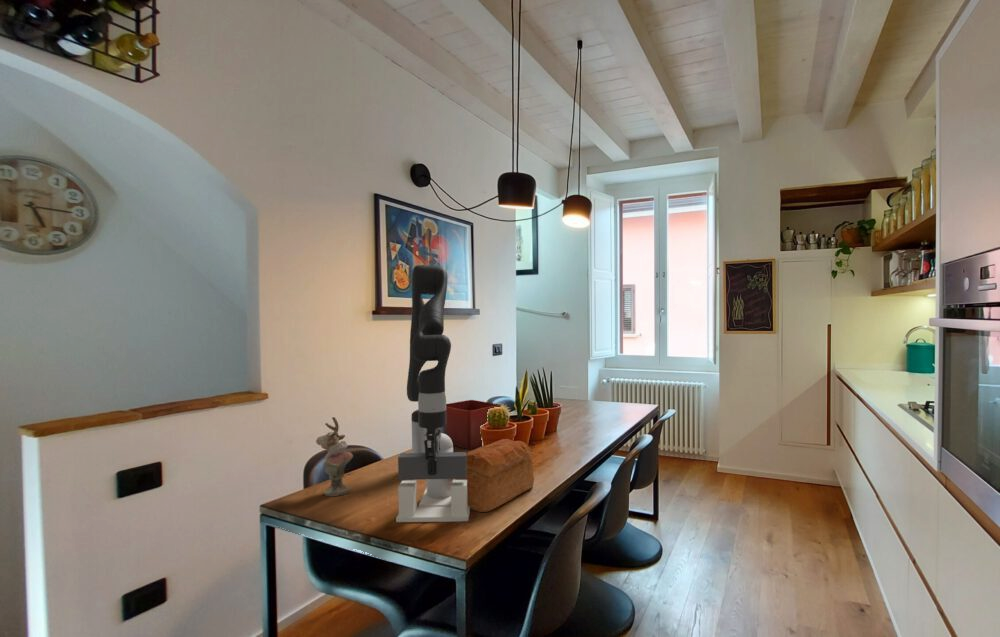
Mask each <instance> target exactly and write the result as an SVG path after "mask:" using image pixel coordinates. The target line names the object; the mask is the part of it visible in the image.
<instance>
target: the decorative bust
mask: <svg viewBox="0 0 1000 637" xmlns="http://www.w3.org/2000/svg"><path fill="white" fill-rule="evenodd" d="M331 419H332V422H333V424H334V425H335V426H333V425H331V424H329V423H328V422H325V424H324V425H325V426H326V427H327V428H329V429H330V430H331V431H330V432H329V431H328V432H327V433H326V434H325V435H321V436H318V437H316V440H315V443H316V444H317V445H318V446H320V447H321V448H322V449H323V450H326V451H327V453H326V455H325V457H324V459H325V461H324V462H323V472H324V473H325V474H326V475H328V476H329V477H328V479H330V485H329V487H327V488H325V490H324V492H323V495H325V496H326V497H338V496H339V495H340V496H343V495H346V494H348V493H349V492H350V487H348V486H347V485H344V483H343V481H342V480H343V478H344V477H345V468H346V465H347V464H348V463H350V462H351V460H352V459H353V457H354V455H353V453H352V452H350V451H347V449H348V444H347V441H346V440H343V439H344V438H345V437H346V435H345V434H340V435H339V433H338V432H339V430H340V428H339V427H340V426H339V421H338V420H337V419H336V417H333V416H332V417H331Z"/></svg>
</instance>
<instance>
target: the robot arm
mask: <svg viewBox="0 0 1000 637" xmlns="http://www.w3.org/2000/svg"><path fill="white" fill-rule="evenodd" d="M447 290H448V273H447V269H446V268H445V267H443V266H439V265H436V266H435V265H425V264H422V265H421V264H419V265H418V264H417V265H415V266H414V267H413V269H412V275H411V320H410V332H409V333H410V334H409V335H410V338H409V363H408V364H409V366H408V372H407V373H408V374H407V382H406V396H407V399H408V400H409V401H410V402H417V409H416V410H414V411H413V412H412V413H411V453H425V456H426V457H425V459H426V461H428V475H436V460H437V453H439V451H440V437H441V433H442V432H441V428H444V426H445V425H446V404H447V398H446V372H447V371H446V370H447V365H448V360H449V358H450V354H451V349H452V343H451V340H450V338H449V337H448V336H447V335H446V334H444V329H445V328H444V325H445V324H444V323H445V322H444V321H445V320H444V319H445V318H444V310H445V304H446V298H447ZM423 295H427V296H428V295H429V296H430V295H432V297H431V298H430V299H429V300H428V301H427V302H426V303H425V302H424V300H423ZM434 361H435V362H437V364H436V366H434V367H431V368H427V369H423V370H422V368H423V366H424V365H425V364H426V363H427V362H434ZM421 370H422V371H421ZM429 453H432V454H433V456H429Z"/></svg>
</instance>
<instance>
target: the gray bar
mask: <svg viewBox="0 0 1000 637" xmlns="http://www.w3.org/2000/svg"><path fill="white" fill-rule="evenodd" d="M467 453H468V451H467V452H466V451H461V452H460V451H457V452H456V451H455V452H454V451H453V452H443V453H437V460H436V475H428V461H426V459H425V457H426V456H425V453H412V452H406V453H405V452H404V453H403V452H401V453H400V454H399V455H398V457H397V470H398V472H397V473H398V477H397V478H398V479H397V480H399V481H412V480H427V479H454V480H455V479H466V476H467ZM429 456H433V454H432V453H429Z"/></svg>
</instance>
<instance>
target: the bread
mask: <svg viewBox="0 0 1000 637" xmlns="http://www.w3.org/2000/svg"><path fill="white" fill-rule="evenodd" d="M534 476H535V475H534V462H533V460H532V455H531V449H530V447H529V445H528V444H526V442H524V441H521V440H511V439H509V438H503V439H499V440H497V441H494V442H491V444H488V445H485V446H481V447H477V448H474V449H472V450H471V451H467V476H466V479H454V480H467V491H468V507H470V511H476V512H480V513H483V512H484V513H486V512H491V511H492V510H494V509H496V508H498V507H500V506H502V505H503V504H507V502H509V501H511V500H512V499H514V498H516V497H517V496H519V495H521V494H522V493H525V492H526V491H528V490H530V489H532V488H533V487H534V481H535V477H534Z"/></svg>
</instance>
